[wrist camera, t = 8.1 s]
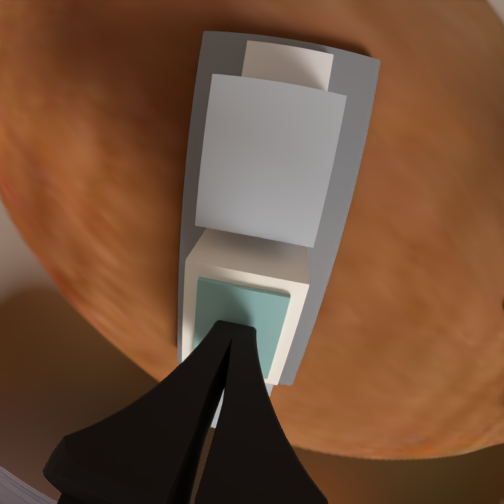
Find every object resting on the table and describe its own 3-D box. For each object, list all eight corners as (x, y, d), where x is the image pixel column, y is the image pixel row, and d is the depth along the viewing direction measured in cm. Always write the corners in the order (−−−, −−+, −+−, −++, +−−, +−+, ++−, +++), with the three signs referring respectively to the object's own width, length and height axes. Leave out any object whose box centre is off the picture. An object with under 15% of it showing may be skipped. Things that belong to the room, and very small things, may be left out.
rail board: (375, 63, 12) (419, 41, 7) (292, 375, 21) (288, 444, 16) (209, 35, 12) (163, 1, 7) (181, 353, 21) (155, 416, 16)
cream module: (305, 226, 14) (309, 288, 10) (283, 313, 17) (277, 388, 12) (219, 209, 14) (183, 262, 10) (209, 298, 17) (180, 368, 12)
